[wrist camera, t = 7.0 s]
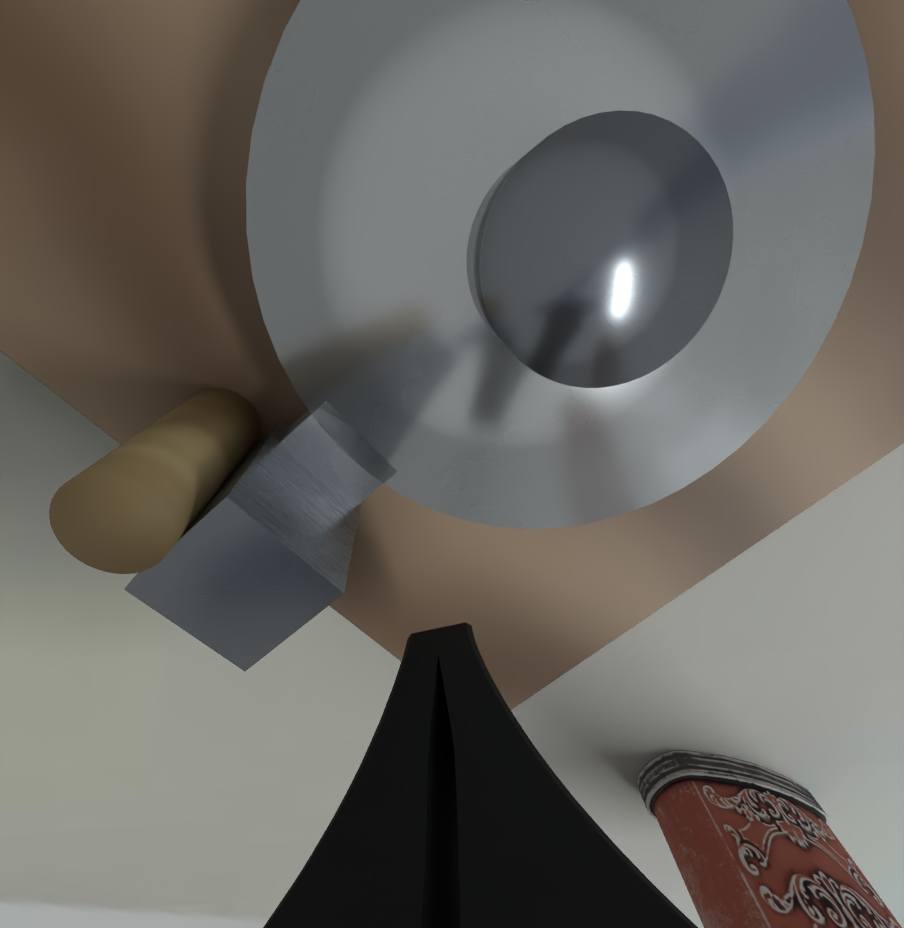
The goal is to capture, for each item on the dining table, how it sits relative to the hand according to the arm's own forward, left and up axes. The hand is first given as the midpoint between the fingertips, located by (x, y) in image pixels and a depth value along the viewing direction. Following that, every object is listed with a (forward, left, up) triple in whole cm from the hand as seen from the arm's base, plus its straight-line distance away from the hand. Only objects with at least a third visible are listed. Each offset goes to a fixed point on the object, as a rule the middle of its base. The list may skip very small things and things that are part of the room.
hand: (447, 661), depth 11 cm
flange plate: (-7, -3, -2) cm, 8 cm away
